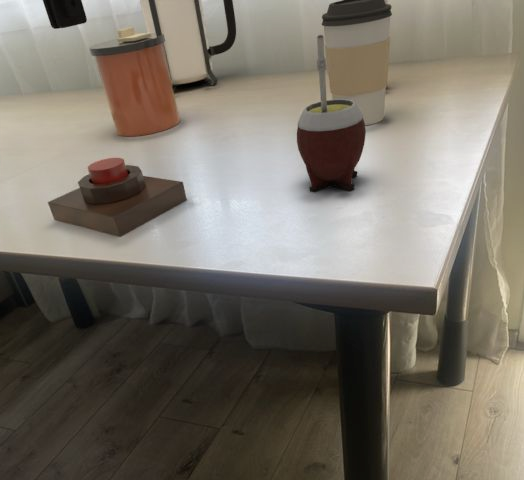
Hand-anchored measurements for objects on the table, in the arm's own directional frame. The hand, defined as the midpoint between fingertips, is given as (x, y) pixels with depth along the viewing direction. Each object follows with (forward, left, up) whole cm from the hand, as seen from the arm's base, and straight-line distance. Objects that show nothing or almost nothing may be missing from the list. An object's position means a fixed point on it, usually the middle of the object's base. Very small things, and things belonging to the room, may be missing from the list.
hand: (70, 25), depth 52 cm
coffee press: (-40, +54, -18) cm, 69 cm away
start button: (+2, -2, -15) cm, 15 cm away
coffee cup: (+12, +35, -18) cm, 41 cm away
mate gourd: (+22, +12, -18) cm, 31 cm away
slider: (-22, +26, -5) cm, 34 cm away
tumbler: (-24, +26, -18) cm, 40 cm away
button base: (+2, -2, -18) cm, 18 cm away
